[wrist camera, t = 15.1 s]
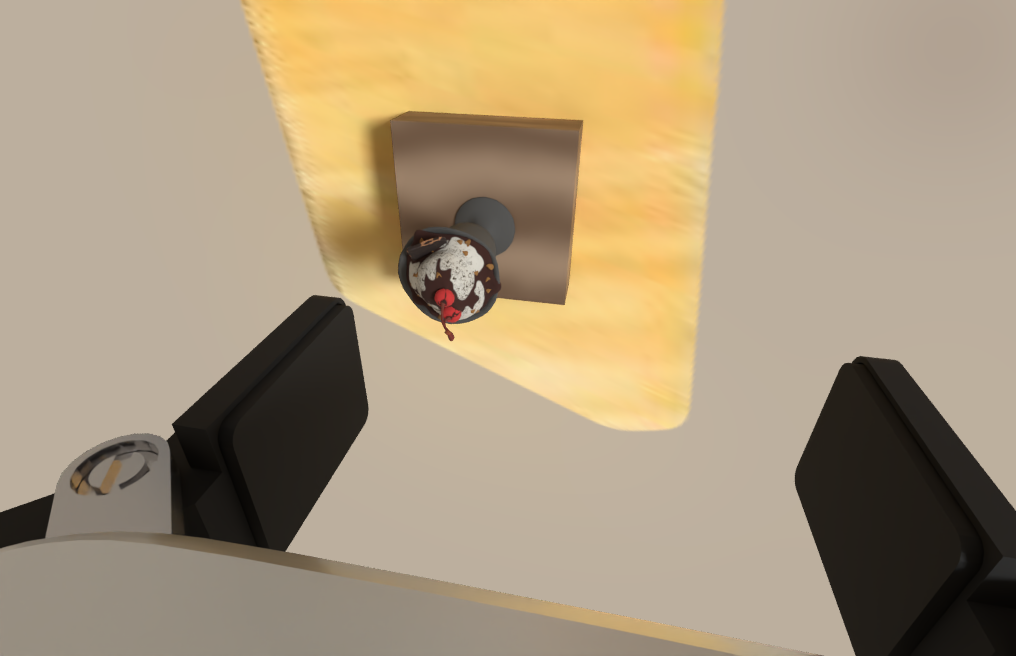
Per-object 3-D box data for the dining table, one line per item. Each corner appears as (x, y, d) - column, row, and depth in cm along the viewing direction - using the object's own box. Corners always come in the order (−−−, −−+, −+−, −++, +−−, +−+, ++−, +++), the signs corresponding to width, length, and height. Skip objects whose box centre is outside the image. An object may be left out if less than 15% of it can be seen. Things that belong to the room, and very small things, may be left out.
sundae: (517, 275, 43) (471, 377, 30) (439, 254, 43) (362, 345, 30) (535, 198, 40) (493, 276, 27) (451, 176, 40) (370, 242, 27)
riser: (408, 111, 42) (390, 120, 39) (583, 120, 40) (579, 130, 36) (421, 269, 49) (406, 288, 46) (568, 283, 47) (564, 305, 44)
